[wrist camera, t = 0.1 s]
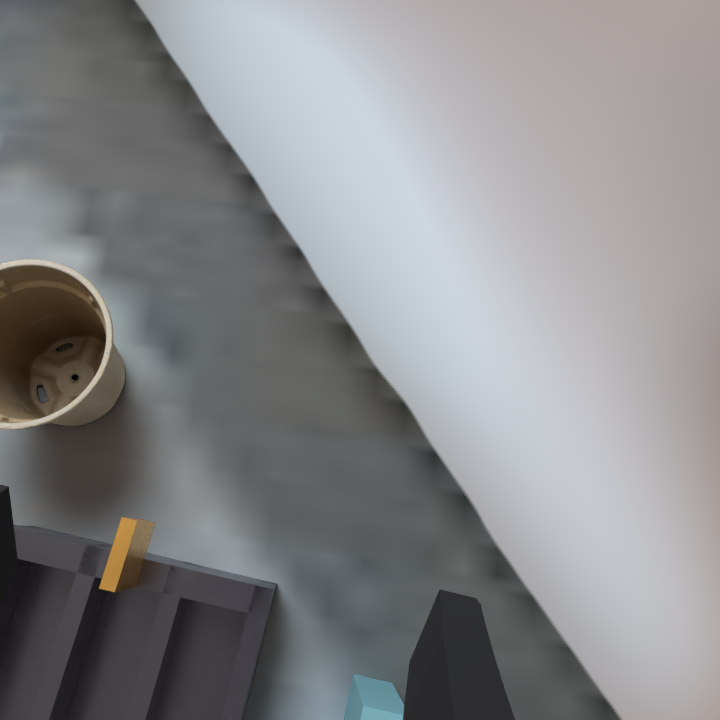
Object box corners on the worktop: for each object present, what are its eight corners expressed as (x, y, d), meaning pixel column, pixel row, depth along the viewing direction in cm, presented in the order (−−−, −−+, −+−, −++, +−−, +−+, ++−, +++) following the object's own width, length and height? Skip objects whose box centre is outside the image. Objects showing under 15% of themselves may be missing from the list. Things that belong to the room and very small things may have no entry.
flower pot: (-30, 385, 43) (-112, 349, 35) (78, 283, 45) (26, 226, 37) (74, 481, 42) (15, 467, 34) (179, 371, 44) (149, 333, 36)
